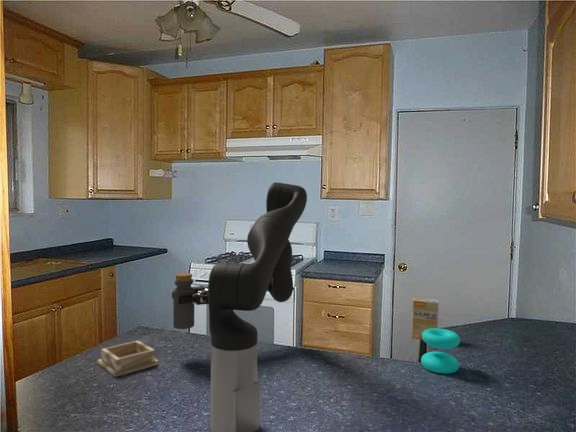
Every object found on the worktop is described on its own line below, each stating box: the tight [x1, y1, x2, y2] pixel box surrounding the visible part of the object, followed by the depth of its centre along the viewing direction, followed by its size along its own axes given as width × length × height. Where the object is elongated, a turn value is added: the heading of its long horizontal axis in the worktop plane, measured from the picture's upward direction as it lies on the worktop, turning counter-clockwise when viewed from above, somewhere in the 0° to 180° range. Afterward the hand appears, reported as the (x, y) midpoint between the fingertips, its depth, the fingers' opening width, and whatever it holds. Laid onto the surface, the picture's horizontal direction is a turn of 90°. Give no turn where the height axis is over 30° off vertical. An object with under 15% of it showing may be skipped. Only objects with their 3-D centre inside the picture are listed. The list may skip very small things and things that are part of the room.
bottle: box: [172, 272, 195, 330], centre depth 120 cm, size 6×6×15 cm
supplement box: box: [411, 297, 439, 341], centre depth 141 cm, size 8×5×13 cm, turn 73°
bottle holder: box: [97, 340, 160, 378], centre depth 115 cm, size 12×12×4 cm
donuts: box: [420, 327, 461, 375], centre depth 116 cm, size 10×10×10 cm
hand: (175, 297), depth 119 cm, fingers closed on bottle, 5 cm apart
